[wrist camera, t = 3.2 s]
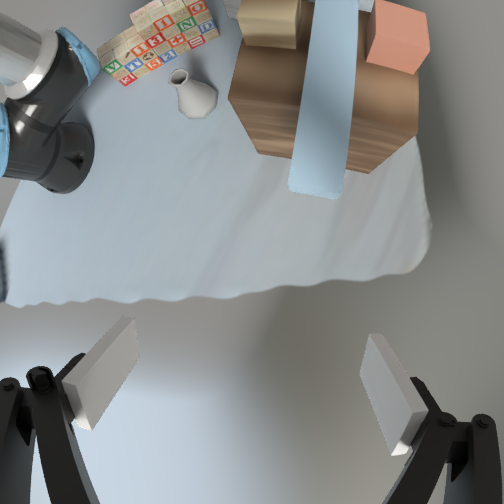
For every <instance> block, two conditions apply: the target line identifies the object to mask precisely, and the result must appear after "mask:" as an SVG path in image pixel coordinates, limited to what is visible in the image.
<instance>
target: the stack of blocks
mask: <svg viewBox="0 0 504 504" xmlns="http://www.w3.org/2000/svg"><path fill="white" fill-rule="evenodd" d="M130 18H131V20H132V23H133V24H134V25H133V26H131V27H130V28H128V29H126V30H125V31H123V32H122V33H120V34H118V35H117V36H115V37H114V38H112V39H111V40H110V41H108V42H107V43H105V44H104V45H102V46H101V47H99V48H98V49H97V53H98V57H99V60H100V64H101V68H102V69H103V70H104V71H105V72H107V73H108V74H109V75H111V76H112V77H114V78H115V79H116V80H118V81H119V82H121V83H122V84H123V85H124V86H127V85H128V84H130V83H131V82H133V81H134V80H136V79H137V78H140V77H142V76H143V75H145V74H147V73H148V72H150V71H152V70H153V69H155V68H157V67H159V66H161V65H162V64H164V63H165V62H167V61H169V60H171V59H173V58H175V57H177V56H178V55H180V54H182V53H184V52H186V51H188V50H190V49H193V48H195V47H197V46H199V45H201V44H203V43H205V42H208V41H210V40H212V39H214V38H217V37H219V36H220V34H219V32H218V30H217V28H216V25H215V23H214V21H213V18H212V15H211V13H210V11H209V9H208V7H207V6H206V4H205V2H204V0H154V1H152V2H150V3H149V4H147V5H145V6H144V7H142V8H140V9H138V10H137V11H135V12H133V13H132V14H130Z"/></svg>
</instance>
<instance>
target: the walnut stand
mask: <svg viewBox="0 0 504 504" xmlns="http://www.w3.org/2000/svg"><path fill="white" fill-rule="evenodd" d="M314 8H315V2H308V1H301V14H302V16H301V22H300V28H299V34H298V40H297V47H296V49H287V48H277V47H266V46H250V45H246V44H245V41H244V38H242V42H241V46H240V50H239V54H238V58H237V62H236V66H235V70H234V74H233V78H232V82H231V86H230V91H229V95H228V100H229V101H230V103H231V105H232V107H233V109H234V110H235V112H236V114H237V116H238V117H239V119H240V121H241V123H242V125H243V126H244V128H245V130H246V132H247V134H248V136H249V137H250V139H251V141H252V143H253V145H254V147H255V149H256V150H257V152H258V154H264V155H271V156H278V157H284V158H290V159H292V155H293V149H294V143H295V137H296V130H297V124H298V118H299V111H300V105H301V99H302V92H303V85H304V79H305V72H306V65H307V58H308V51H309V44H310V37H311V30H312V23H313V15H314ZM370 15H371V13H370V12H366V11H361V10H358V38H357V58H356V73H355V86H354V98H353V109H352V119H351V128H350V137H349V145H348V153H347V160H346V168H345V169H349V170H353V171H358V172H362V173H367V174H369V173H370V172H371V171H372V170H374V169H375V168H376V167H377V166H378V165H380V164H381V163H382V162H383V161H385V160H386V159H387V158H388V157H389V156H391V155H392V154H393V153H394V152H395V151H397V150H398V149H399V148H400V147H401V146H403V145H404V144H405V143H406V142H408V141H409V140H410V139H411V138H412V137H414V136H415V135H416V134H417V133H418V102H419V101H418V99H419V96H418V69H417V70H416V72H415V73H414V75H412V74H409V73H406V72H403V71H399V70H396V69H392V68H389V67H385V66H381V65H377V64H373V63H369V62H366V47H367V25H368V21H369V18H370Z"/></svg>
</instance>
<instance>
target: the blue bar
mask: <svg viewBox="0 0 504 504" xmlns="http://www.w3.org/2000/svg"><path fill="white" fill-rule="evenodd" d="M357 38H358V0H315V8H314V15H313V23H312V30H311V37H310V44H309V51H308V58H307V65H306V72H305V79H304V85H303V92H302V99H301V105H300V111H299V118H298V124H297V130H296V137H295V143H294V149H293V155H292V161H291V167H290V173H289V179H288V188H289V191H292V192H298V193H303V194H309V195H314V196H319V197H324V198H329V199H334V200H335V199H336V198H338V197H339V196H340V195H341V194H342V188H343V182H344V175H345V168H346V160H347V153H348V145H349V137H350V128H351V119H352V109H353V98H354V86H355V73H356V58H357Z"/></svg>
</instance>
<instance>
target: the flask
mask: <svg viewBox="0 0 504 504" xmlns="http://www.w3.org/2000/svg"><path fill="white" fill-rule="evenodd" d="M169 83H170V84H171V85H172V86H174V87H175V88H176V90H177V94H178V108H179V111H180V112H182V113H183V114H184V115H185V116H187V117H188V118H189V119H193V118H206V116H207V115H208V114H209V113H210V112H211V111H212V110H213V109H214V108H215V107H216V104H217V98H218V92H217V91H216V90H215V89H213V88H212V87H210V86H209V85H208V84H205V83H201V82H198V81H195V80H193V79H191V78H190V77H189V72H188V71H186V70H185V69H176V70H175V71H174V72H173V73H172V74H171V75H170V77H169Z"/></svg>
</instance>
